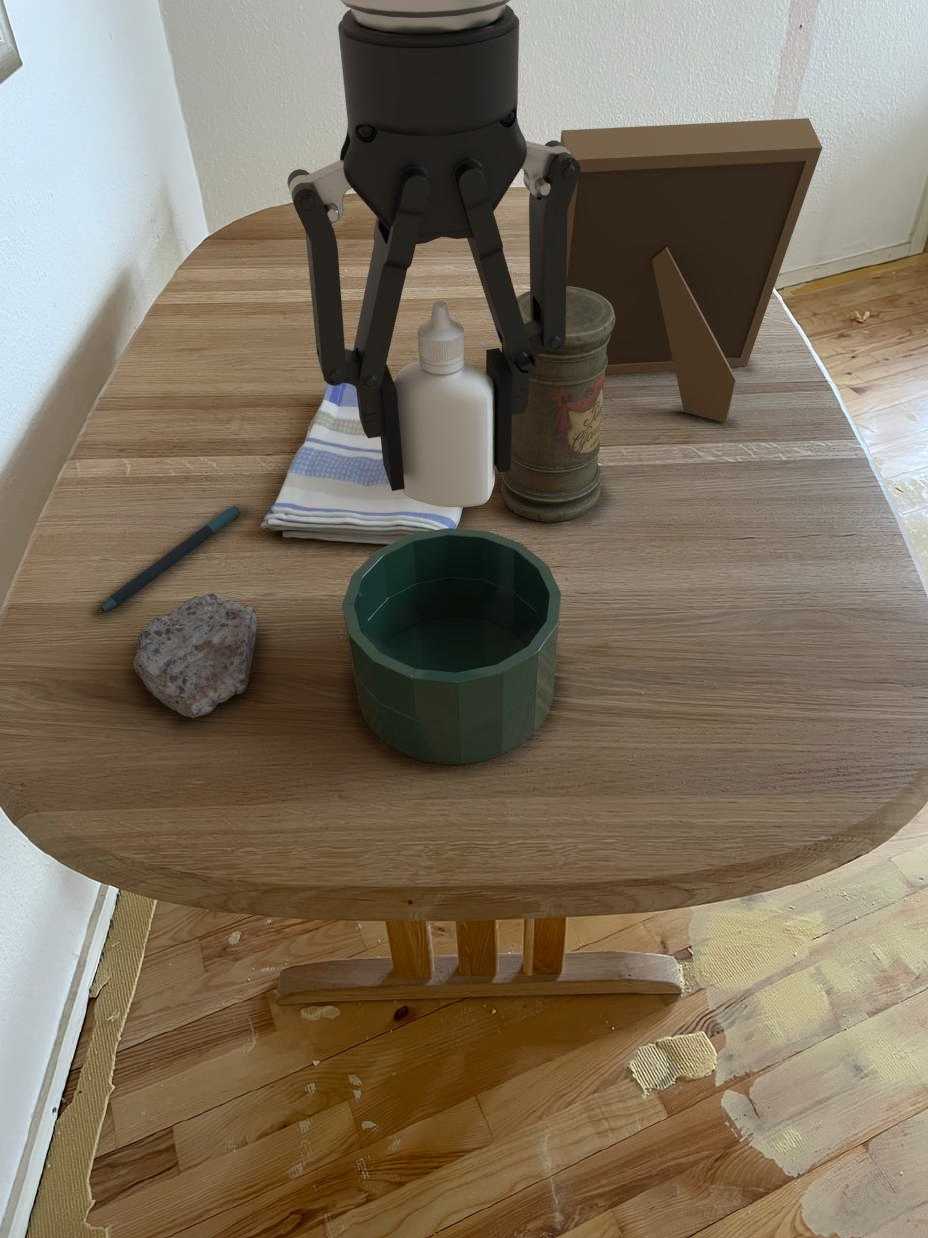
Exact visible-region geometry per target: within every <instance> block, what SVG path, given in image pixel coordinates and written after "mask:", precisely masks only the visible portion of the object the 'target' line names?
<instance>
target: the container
mask: <svg viewBox="0 0 928 1238" xmlns="http://www.w3.org/2000/svg"><path fill="white" fill-rule="evenodd" d="M516 298H517V301H518V305H519V308H520V312H521V315H522V319H523V322H524V324H526V323H528V322H530V321H531V319H530V290H528V291H526V292H523V293H522V294H520V295H518V296H516ZM614 325H615V312H614V309H613V307H612V305H611V304H610V302H609V301H608V300H607V299H605V298H604V297H602V296H601V295H599V294H597V293H595V292H592V291H589V290H586V289H582V288H577V287H570V286H566V338H565V344H564V346H563V347H562V348H561V349H560V350H559V351H557V352H549V351H545V352H543V353H541V354H539V355H537V356H536V357H535V359H536V360H537V366H536V369H535V370H534V371H533V372H532V373H531V374H529V395H528V397H529V398H528V406H527V409H526V411H525V413H521V414H515V415H512V435H511V471H507V472H501V476H502V479H501V484H500V490H501V491H500V492H501V496H502V499H503V501H504V503H505V505H506V506H507V507H508V508H509V509H510V510H511V511H512V512H513V513H515V514H517V515H519V516H522V517H523V518H526V519H529V520H533V521H538V522H547V523H549V522H550V523H553V522H555V523H556V522H564V521H569V520H573V519H576V518H579V517H581V516H583V515H585V514H586V513H588V512H589V511H590V510H591V509H592V508H593V507H595V505H596V503H597V501H598V499H599V497H600V494H601V482H600V480H601V474H602V472H601V468H600V466H599V463H598V459H599V453H600V450H601V442H600V433H601V420H602V409H603V408H602V407H603V399H604V388H605V380H606V379H605V378H606V374H605V368H606V366H607V363H608V359H607V355H606V348H607V343H608V341H609V339H610V332H611V331H612V329H613V327H614Z"/></svg>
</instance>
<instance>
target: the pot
mask: <svg viewBox="0 0 928 1238" xmlns="http://www.w3.org/2000/svg"><path fill="white" fill-rule="evenodd" d="M561 602H562V592H561V589H560V588H559V585H558V583H557V581H556V580H555V577H554V575H553V573H552V571H551V569H550V567H549V565H548V563H546V562H545V561H544V560H542V559H541V558H540V557H538V555H536V554H535V553H534V552H533V551H531V550H530V549H529V548H527V547H526V546H525V545H524V544H522V543H520V542H518V541H515V540H512V539H509V538H507V537H504V536H502V535H499V534H496V533H493V532H490V531H488V530H481V529H480V530H479V529H466V528H456V529H454V528H448V529H447V528H444V529H439V530H433V531H428V532H422V533H417V534H411V535H408V536H406V537H404V538H402V539H400V540H398V541H396V542H394V543H392V544H386V546H384V547H381V548H379V549H377V550H376V551H373V553H372V554H371V555H370V556H369V557H368V558H367V559H366V560H365V561H364V562H363V563H362V564H361V565H360V567H359V568H357V569H356V570H355V571H354V572H353V574H352V575H351V576H350V579H349V583H348V586H347V588H346V591H345V594H344V598H343V600H342V603H341V607H342V614H343V620H344V625H345V631H346V638H347V643H348V644H347V645H348V650H349V655H350V662H351V663H350V664H351V667H352V675H353V680H354V687H355V691H356V694H357V699H358V705H359V708H360V713H361V715H362V718H364V720H365V722H366V723H367V725H368V726H369V728H370V729H371V731H372V732H373V733H374V734H375V735H376V736H377V738H379V739H380V740H381V741H382V742H383V743H385V744H386V745H387V746H389V748H392V749H394V750H395V751H396V752H398V753H401V754H402V755H405V756H407V757H410V758H412V759H415V760H419V761H423V762H424V763H425V762H426V763H432V764H436V765H449V766H450V765H451V766H457V765H459V766H460V765H469V764H476V763H482V762H486V761H488V760H493V759H496V758H498V757H500V756H503V755H505V754H507V753H509V752H511V751H513V750H515V749H516V748H518V747H519V746H521V745H522V744H524V742H526V741H527V740H529V738H531V737H532V735H534V734H535V733H536V732H537V730H538V729H539V727H540V726H541V725H542V724H543V723H544V721H545V719H546V717H547V716H548V714H549V711H550V708H552V707H551V706H552V705H553V699H554V689H555V679H556V666H557V654H558V641H559V627H560V617H561V615H560V614H561V604H562V603H561Z"/></svg>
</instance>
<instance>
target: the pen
mask: <svg viewBox="0 0 928 1238" xmlns="http://www.w3.org/2000/svg"><path fill="white" fill-rule="evenodd" d="M239 514H241V509H240V508H239V507H238V506H237V505H232V506H230V507H228V508H227V509H225V510H224V511H223V512H222V513H220V514H218V515H217V516H216V517H215V518H214V519H212V520H211V521H209V522H208V523H207V524H205V525H204V526H202V528H200V529H198V531H196V532H195V533H193V534H192V535H191V536H189V537H188V538H187V539H185V540H184V541H182V542H181V543H180V544H179V545H177V546H176V547H175V548H173V549H172V550H171V551H169V552H168V553H166V554H165V555H164V556H163V557H161V558H160V559H158V560H156V561H155V562H154V563H152V565H150V566H149V567H148V568H146V569H144V570H143V571H142V572H140V574H138V575H136V577H134V578H133V579H131V580H130V581H128V582H127V583H126V584H124V585H123V586H122V587H121V588H119V589H118V590H116V591H115V592H114V593H112V594H110V596H109V597H108V598H107V600H106V601H105V602H104V604H103V605H102V606H101V608H100V610H99V613H102V612H106V611H109V610H111V609H114V608H116V607H119V606H121V605H122V604H123V603H124V602H125V601H127V600H128V599H129V598H131V597H132V596H133V595H135V594H136V593H138V592H139V591H140V590H141V589H143V588H145V586H147V585H148V584H149V583H151V582H152V581H154V580H155V579H157V577H159V576H160V575H161V574H163V573H164V572H165V571H167V570H169V569H170V568H171V567H172V566H173V565H175V564H176V563H177V562H178V561H180V560H182V559H183V558H184V557H185V556H186V555H188V554H190V553H191V552H192V551H193V550H194V549H196V548H198V547H199V546H200V545H201V544H203V543H204V542H205V541H207V540H208V539H209V538H210V537H212V536H214V535H215V534H216V533H217V532H218V531H220V530H221V529H222V528H224V527H225V526H227V525H228V524H230V523H231V522H232V521H234V519H236V518H237V517H238V515H239Z"/></svg>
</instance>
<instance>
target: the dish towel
mask: <svg viewBox="0 0 928 1238" xmlns="http://www.w3.org/2000/svg"><path fill="white" fill-rule="evenodd" d="M322 396H323V397H322V399H321V403H320V405H319V408H318V409H317V411H316V413H315V415H314V416H313V418H312V420H311V421H310V422H309V425H308V427H307V432H306V435H305V440H304V442H303V444H302V445H301V446H300V447H299V449H298V450H297V451H296V453H295V455H294V456H293V459H292V460H291V462H290V465H289V469H288V470H287V472H286V477H285V479H284V482H283V483H282V486H281V489H280V491H279V493H278V496H277V498H276V500H275V501H274V504H273V505H272V506H271V507H270V510H269V511H268V512H267V513H266V514H265V515H264V518H263V521H262V522H261V524H260V528H261V529H269V530H271V531H282V537H284V538H298V539H312V540H313V539H315V540H323V541H328V542H329V541H331V542H344V543H356V544H358V543H359V544H375V545H390V544H392V543H394V542H396V541H398V540H400V539H402V538H404V537H406V536H408V535H411V534H417V533H422V532H428V531H433V530H439V529H444V528H447V529H448V528H454V529H458V528H457V527H458V525H459V523H460V520H461V517H462V512H463V509H464V507H442V506H435V505H430V504H427V503H423V502H420V501H417V500H414V499H412V498H410V497H408V496H406V495H405V494H404V493H403V492H402V491H401V490H396V491H392V489H391V486H390V483H389V480H388V477H387V474H386V471H385V468H384V465H383V456H382V446H381V437H375V438H369V439H368V437H367V436H366V434H365V433H364V430H363V427H362V424H361V421H360V418H359V409H358V401H357V392H356V387H355V386H353V385H351V384H348V383H342V384H340V385H337V386H332V385H329V384H327V383H326V385H325V390H324V393H323V395H322Z"/></svg>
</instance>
